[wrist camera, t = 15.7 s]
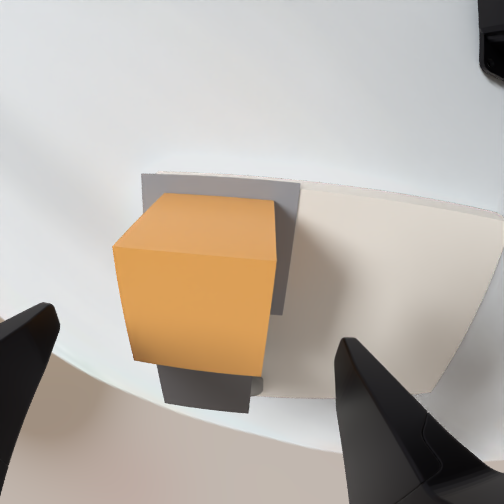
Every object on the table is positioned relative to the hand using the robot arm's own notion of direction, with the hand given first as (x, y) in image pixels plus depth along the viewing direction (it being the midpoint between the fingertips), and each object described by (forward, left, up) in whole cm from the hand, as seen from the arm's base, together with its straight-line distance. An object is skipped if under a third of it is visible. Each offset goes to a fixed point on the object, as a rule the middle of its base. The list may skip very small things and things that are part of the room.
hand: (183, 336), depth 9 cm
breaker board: (-6, +4, -7) cm, 10 cm away
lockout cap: (0, 0, -6) cm, 6 cm away
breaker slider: (0, +5, -5) cm, 8 cm away
